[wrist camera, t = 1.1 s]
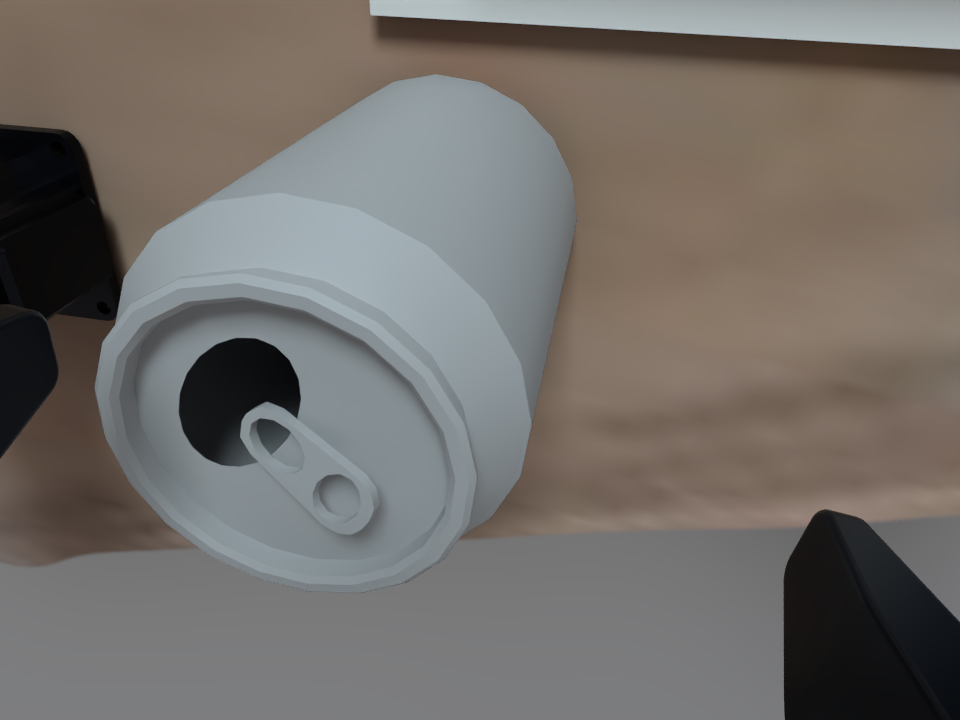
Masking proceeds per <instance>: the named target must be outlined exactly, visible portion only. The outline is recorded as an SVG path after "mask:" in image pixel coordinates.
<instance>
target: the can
mask: <svg viewBox="0 0 960 720" xmlns="http://www.w3.org/2000/svg"><path fill="white" fill-rule="evenodd" d="M576 222H577V217H576V209H575V200H574V192H573V183H572V178H571V176H570V174H569V171H568V169H567V167H566V165H565V163H564V161H563V159H562V156H561V154H560V152H559V150H558V148H557V146H556V144H555V141H554V139H553V138H552V137H551V136H550V135H549V134H548V132H547V131H546V130H545V129H544V128H543V127H542V126H541V125H540V124H539V123H538V122H537V121H536V120H535V119H534V117H533V116H532V115H531V114H530V113H529V112H528V111H527V110H526V109H525V108H524V107H523V106H522V105H521V104H519V103H517V102H516V101H514V100H512V99H510V98H508V97H507V96H505V95H503V94H501V93H499V92H498V91H496V90H494V89H492V88H490V87H488V86H487V85H485V84H483V83H481V82H476V81H470V80H465V79H459V78H454V77H448V76H443V75H437V74H436V75H430V76H424V77H418V78H412V79H406V80H400V81H394V82H392V83H391V84H389V85H387V86H385V87H384V88H382V89H380V90H378V91H377V92H375V93H373V94H372V95H370V96H368V97H366V98H365V99H363V100H361V101H359V102H358V103H356V104H355V105H353V106H352V107H350V108H348V109H347V110H345V111H344V112H342V113H341V114H339V115H338V116H336V117H334V118H333V119H331V120H330V121H328V122H327V123H325V124H323V125H322V126H320V127H319V128H317V129H316V130H314V131H313V132H311V133H309V134H308V135H306V136H305V137H303V138H302V139H300V140H299V141H297V142H295V143H294V144H292V145H291V146H289V147H288V148H286V149H284V150H283V151H281V152H280V153H278V154H277V155H275V156H274V157H272V158H270V159H269V160H267V161H266V162H264V163H263V164H261V165H260V166H258V167H256V168H255V169H253V170H252V171H250V172H249V173H247V174H246V175H244V176H242V177H241V178H239V179H238V180H236V181H235V182H233V183H231V184H230V185H228V186H227V187H225V188H224V189H222V190H221V191H219V192H217V193H216V194H214V195H213V196H211V197H210V198H208V199H207V200H205V201H203V202H202V203H200V204H199V205H197V206H196V207H194V208H193V209H191V210H189V211H188V212H186V213H185V214H183V215H182V216H180V217H178V218H177V219H175V220H174V221H172V222H171V223H169V224H168V225H166V226H164V227H163V228H161V229H160V230H158V231H157V232H156V233H155V234H154V235H153V237H152V238H151V240H150V241H149V242H148V244H147V245H146V247H145V248H144V250H143V251H142V252H141V254H140V255H139V257H138V258H137V260H136V261H135V262H134V264H133V265H132V267H131V268H130V269H129V271H128V272H127V274H126V275H125V277H124V280H123V285H122V291H121V296H120V302H119V307H118V312H117V318H116V323H115V326H114V327H113V329H112V330H111V331H110V333H109V334H108V335H107V337H106V338H105V339H104V341H103V342H102V348H101V354H100V359H99V365H98V371H97V376H96V382H95V393H96V398H97V402H98V407H99V412H100V417H101V421H102V426H103V431H104V436H105V438H106V440H107V442H108V444H109V446H110V447H111V449H112V451H113V453H114V455H115V457H116V458H117V460H118V462H119V464H120V466H121V467H122V469H123V471H124V473H125V475H126V477H127V478H128V480H129V482H130V484H131V485H132V486H133V487H134V489H135V490H136V491H137V492H138V493H139V494H140V495H141V496H142V497H143V498H144V500H145V501H146V502H147V503H148V504H149V505H150V506H151V507H152V508H153V509H154V511H155V512H156V513H157V514H158V515H159V516H160V517H161V518H162V519H163V520H164V522H165V523H166V524H168V525H169V526H170V527H172V528H173V529H174V530H176V531H177V532H178V533H180V534H181V535H183V536H184V537H185V538H187V539H188V540H189V541H191V542H192V543H193V544H195V545H196V546H198V547H199V548H200V549H202V550H203V551H205V552H206V553H207V554H208V555H210V556H212V557H214V558H216V559H218V560H220V561H222V562H224V563H226V564H229V565H231V566H233V567H235V568H237V569H239V570H241V571H243V572H245V573H248V574H250V575H252V576H254V577H256V578H258V579H262V580H266V581H270V582H273V583H277V584H281V585H285V586H289V587H293V588H297V589H301V590H305V591H309V592H339V593H363V592H367V591H372V590H376V589H380V588H385V587H389V586H393V585H397V584H402V583H406V582H409V581H410V580H411V579H413V578H415V577H417V576H418V575H420V574H421V573H423V572H425V571H426V570H428V569H429V568H431V567H432V566H434V565H436V564H438V563H439V562H441V561H442V560H444V559H445V558H446V556H447V555H448V553H449V552H450V550H451V549H452V548H453V546H454V545H455V543H456V542H457V541H458V539H459V538H460V537H461V536H463V535H464V534H466V533H468V532H469V531H471V530H472V529H474V528H475V527H477V526H479V525H480V524H482V523H483V522H485V521H486V520H488V519H490V518H491V517H492V515H493V514H494V513H495V511H496V510H497V509H498V507H499V506H500V504H501V503H502V502H503V500H504V499H505V497H506V496H507V495H508V493H509V492H510V490H511V489H512V488H513V486H514V485H515V483H516V482H517V481H518V479H519V478H520V476H521V471H522V467H523V462H524V458H525V453H526V449H527V444H528V440H529V435H530V431H531V426H532V421H533V417H534V412H535V408H536V403H537V399H538V394H539V390H540V385H541V381H542V376H543V372H544V367H545V363H546V358H547V354H548V349H549V345H550V340H551V336H552V331H553V327H554V322H555V318H556V313H557V309H558V304H559V300H560V295H561V291H562V286H563V282H564V277H565V273H566V268H567V264H568V259H569V255H570V250H571V245H572V241H573V236H574V232H575V227H576Z"/></svg>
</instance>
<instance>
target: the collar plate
mask: <svg viewBox="0 0 960 720" xmlns="http://www.w3.org/2000/svg"><path fill="white" fill-rule="evenodd" d="M370 15H377V16H395V17H412V18H429V19H446V20H464V21H481V22H498V23H515V24H533V25H550V26H567V27H584V28H601V29H619V30H636V31H653V32H670V33H688V34H705V35H722V36H739V37H757V38H774V39H791V40H808V41H826V42H843V43H860V44H877V45H894V46H912V47H929V48H946V49H960V0H370Z"/></svg>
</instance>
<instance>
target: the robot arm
mask: <svg viewBox="0 0 960 720" xmlns="http://www.w3.org/2000/svg"><path fill="white" fill-rule="evenodd" d="M59 142H60V143H61V144H62V145H63V146H64V148H65V150H66V153H65V152H64V151H62V150H61V148H60V146H59ZM120 296H121V293H120V289H119V285H118V282H117V278H116V274H115V271H114V267H113V263H112V260H111V256H110V252H109V248H108V245H107V241H106V237H105V234H104V230H103V226H102V223H101V219H100V215H99V211H98V208H97V204H96V200H95V197H94V193H93V189H92V186H91V182H90V178H89V174H88V171H87V167H86V163H85V160H84V156H83V152H82V149H81V146H80V144H79V141H78V140H77V139H76V138H75V136H74V135H72V134H71V133H70V132H68V131H65V130H59V129H48V128H37V127H26V126H14V125H3V124H0V458H1V457H2V456H3V455H4V453H5V452H6V451H7V449H8V448H9V447H10V445H11V444H12V443H13V441H14V440H15V439H16V437H17V436H18V435H19V434H20V432H21V431H22V430H23V428H24V427H25V426H26V424H27V423H28V422H29V420H30V419H31V418H32V416H33V415H34V414H35V412H36V411H37V410H38V409H39V407H40V406H41V405H42V403H43V402H44V401H45V399H46V398H47V397H48V395H49V394H50V393H51V391H52V390H53V388H54V387H55V385H56V382H57V379H58V373H59V368H58V363H57V359H56V355H55V350H54V346H53V342H52V338H51V334H50V329H49V325H48V322H47V320H48V319H50V318H51V317H53V316H54V315H56V314H61V315H69V316H77V317H84V318H92V319H99V320H107V321H108V320H113V319H115V318H116V317H117V312H118V307H119V302H120ZM104 302H105V303H106V304H107V305H109V307H110V308H108V307H107V306H106V304H105V303H104ZM784 711H785V720H960V622H959V621H958V620H957V618H956V617H955V616H954V615H953V614H952V613H951V612H950V611H949V610H948V609H947V608H946V607H945V606H944V605H943V604H942V603H941V602H940V600H938V598H937V597H936V596H935V595H934V594H933V593H932V592H931V591H930V590H929V589H928V588H927V587H926V586H925V584H923V582H922V581H921V580H920V579H919V578H918V577H917V576H916V575H915V574H914V573H913V572H912V571H911V570H910V569H909V568H908V567H907V566H906V564H905V563H904V562H903V561H902V560H901V559H900V558H899V557H898V556H897V555H896V554H895V553H894V552H893V551H892V550H891V548H890V547H889V546H888V545H887V544H886V543H885V542H884V541H883V540H882V539H881V538H880V537H879V536H878V535H877V534H876V533H875V531H874V530H873V529H872V528H871V527H870V526H869V525H868V524H867V523H866V522H865V521H864V520H862V519H860V518H858V517H855V516H851V515H847V514H843V513H839V512H835V511H831V510H826V509H825V510H821V511H818V512H817V513H816V514H815V515H814V516H813V518H812V519H811V521H810V523H809V524H808V526H807V528H806V530H805V531H804V533H803V535H802V537H801V538H800V540H799V542H798V544H797V545H796V547H795V549H794V551H793V553H792V554H791V556H790V558H789V560H788V562H787V565H786V569H785V574H784Z"/></svg>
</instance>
